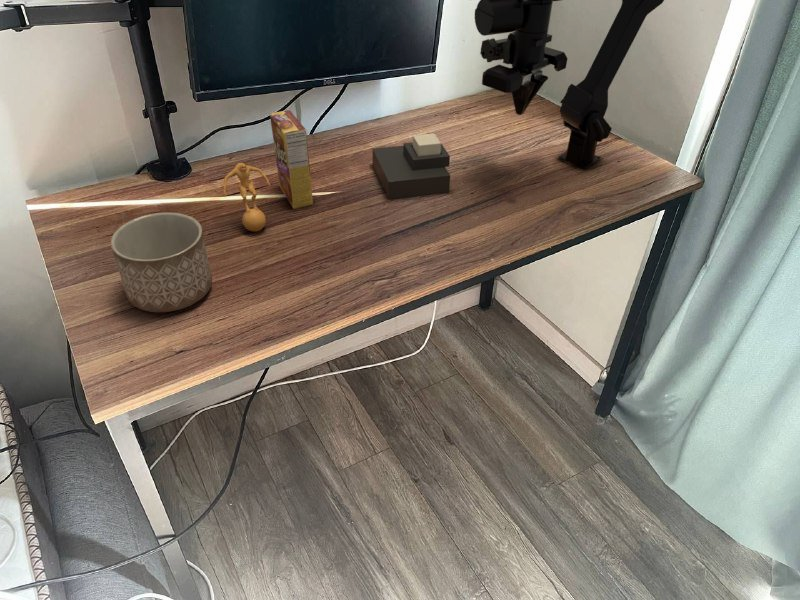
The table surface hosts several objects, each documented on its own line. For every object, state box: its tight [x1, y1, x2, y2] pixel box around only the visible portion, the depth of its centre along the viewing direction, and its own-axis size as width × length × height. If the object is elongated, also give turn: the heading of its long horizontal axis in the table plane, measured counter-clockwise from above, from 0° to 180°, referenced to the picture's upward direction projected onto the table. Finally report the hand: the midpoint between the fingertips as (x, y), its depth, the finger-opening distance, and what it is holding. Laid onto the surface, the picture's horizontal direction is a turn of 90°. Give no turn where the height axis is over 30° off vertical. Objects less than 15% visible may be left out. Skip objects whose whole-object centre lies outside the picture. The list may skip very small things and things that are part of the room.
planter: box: [110, 212, 213, 313], centre depth 99 cm, size 13×13×10 cm
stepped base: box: [371, 141, 451, 200], centre depth 129 cm, size 13×14×6 cm
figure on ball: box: [222, 162, 271, 232], centre depth 113 cm, size 8×6×12 cm
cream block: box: [412, 133, 442, 156], centre depth 127 cm, size 4×4×3 cm
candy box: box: [269, 109, 314, 210], centre depth 120 cm, size 9×4×15 cm, turn 25°
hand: (519, 113), depth 125 cm, fingers closed
